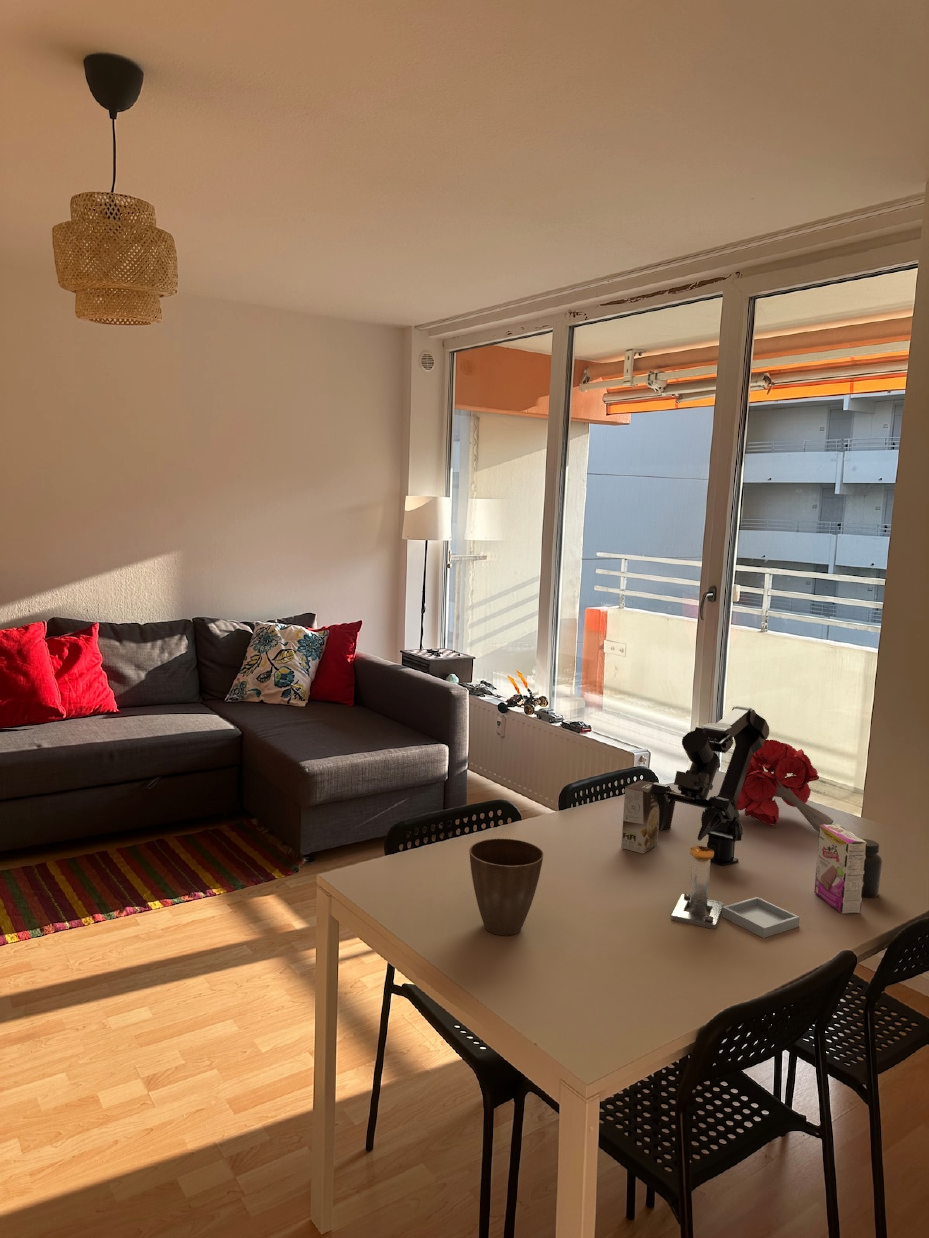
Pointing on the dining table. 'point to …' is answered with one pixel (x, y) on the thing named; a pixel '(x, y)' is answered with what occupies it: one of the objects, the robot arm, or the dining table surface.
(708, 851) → the orange capped tube
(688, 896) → the plate
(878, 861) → the supplement bottle
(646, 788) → the coffee box
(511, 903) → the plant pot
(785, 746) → the bouquet
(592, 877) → the dining table surface
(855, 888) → the candy bar box
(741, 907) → the tray
